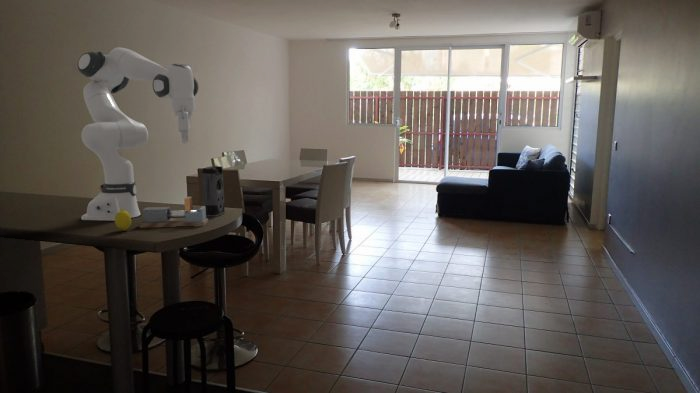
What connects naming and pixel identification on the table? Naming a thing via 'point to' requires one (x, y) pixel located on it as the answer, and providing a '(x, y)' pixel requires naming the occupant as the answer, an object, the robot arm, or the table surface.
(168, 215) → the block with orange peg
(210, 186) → the electronic device
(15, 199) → the table surface
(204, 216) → the socket block
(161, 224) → the bench board
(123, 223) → the lemon
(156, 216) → the outer sleeve
